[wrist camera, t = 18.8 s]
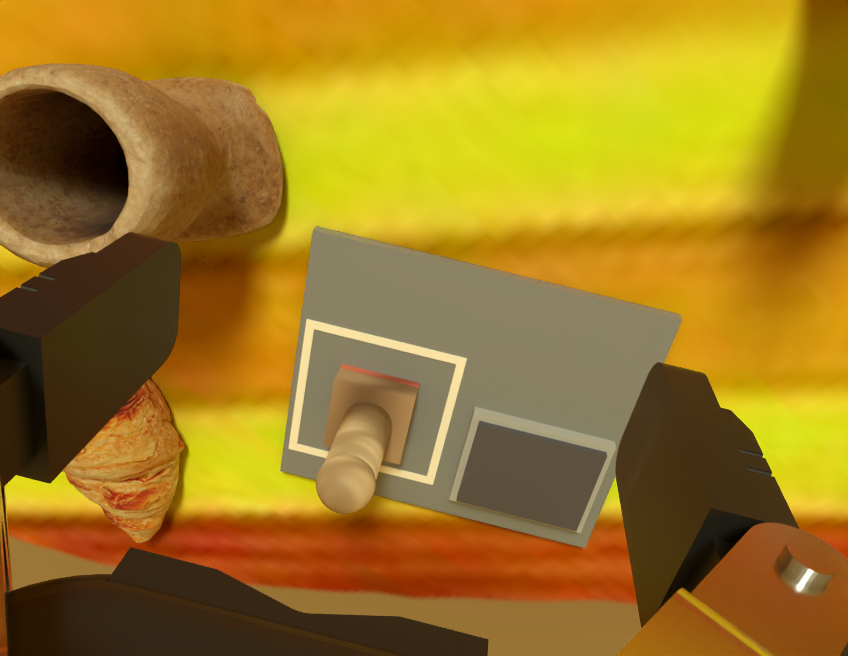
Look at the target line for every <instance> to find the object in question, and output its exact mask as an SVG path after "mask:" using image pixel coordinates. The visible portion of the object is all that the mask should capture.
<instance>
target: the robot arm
mask: <svg viewBox="0 0 848 656" xmlns="http://www.w3.org/2000/svg"><path fill="white" fill-rule="evenodd" d="M180 271H181V253H180V249H179V246H178V245H177V244H176V243H175V242H171V241H167V240H163V239H159V238H155V237H150V236H146V235H142V234H138V233H134V232H128V233H126V234H125V235H123V236H122V237H120V238H118V239H117V240H115V241H114V242H112V243H111V244H109V245H108V246H106V247H104V248H103V249H101V250H100V251H98V252H97V253H95V252H90V253H86V254H82V255H79V256H75V257H71V258H68V259H64V260H61V261H59V262H58V263H56V264H54V265H53V266H51V267H49V268H48V269H46V270H44V271H43V272H41V273H40V274H39V277H36V276H35V277H33V278H31V279H30V280H28V281H26V282H25V283H23V284H21V288H15V289H13V290H12V291H10V292H8V293H7V294H5V295H3V296H2V297H0V656H487V654H488V639H484V638H481V637H477V636H473V635H469V634H465V633H461V632H457V631H454V630H449V629H446V628H442V627H438V626H434V625H430V624H426V623H422V622H419V621H415V620H411V619H406V618H403V617H396V616H366V615H335V614H333V615H332V614H309V613H302V612H299V611H296V610H294V609H292V608H290V607H288V606H286V605H284V604H282V603H280V602H278V601H276V600H274V599H272V598H271V597H269V596H267V595H264V594H263V593H261V592H259V591H257V590H255V589H253V588H252V587H250V586H248V585H246V584H244V583H242V582H240V581H238V580H236V579H234V578H232V577H231V576H229V575H227V574H225V573H223V572H221V571H219V570H217V569H213V568H209V567H205V566H201V565H197V564H194V563H190V562H186V561H182V560H178V559H174V558H170V557H166V556H163V555H159V554H155V553H151V552H147V551H143V550H139V549H135V548H131V547H130V549H129V550H128V552H127V553H126V555H125V556H124V557H123V559H122V560H121V562H120V563H119V565H118V566H117V567H116V569H115V570H114V572H113V573H112V574H96V575H80V576H72V577H65V578H59V579H53V580H48V581H44V582H40V583H36V584H32V585H28V586H25V587H22V588H19V589H16V590H13V589H12V575H11V562H10V549H9V536H8V523H7V509H6V498H5V488H4V486H5V485H6V484H7V483H8V482H9V481H10V480H11V479H12V478H13V477H14V476H15V475H18V476H22V477H26V478H30V479H34V480H38V481H42V482H46V483H51V482H52V481H53V480H54V479H55V478H56V477H57V476H58V475H59V474H60V473H61V472H62V470H63V469H64V468H65V467H66V466H67V465H68V464H69V463H70V462H71V461H72V460H73V459H74V458H75V457H76V456H77V455H78V454H79V452H80V451H81V450H82V449H83V448H84V447H85V446H86V445H87V444H88V443H89V442H90V441H91V440H92V439H93V438H94V437H95V436H96V434H97V433H98V432H99V431H100V430H101V429H102V428H103V427H104V426H105V425H106V424H107V423H108V422H109V421H110V420H111V419H112V417H113V416H114V415H115V414H116V413H117V412H118V411H119V410H120V409H121V408H122V407H123V406H124V405H125V404H126V403H127V402H128V401H129V399H130V398H131V397H132V396H133V395H134V394H135V393H136V392H137V391H138V390H139V389H140V388H141V387H142V386H143V385H144V384H145V383H146V381H147V380H148V379H149V378H150V377H151V376H152V375H153V374H154V373H155V372H156V371H157V370H158V369H159V368H160V367H161V366H162V365H163V363H164V362H165V361H166V360H167V358H168V357H169V355H170V353H171V351H172V349H173V346H174V343H175V340H176V336H177V331H178V317H179V294H180ZM762 456H763V453H762V451H761V449H760V447H759V445H758V442H757V440H756V438H755V436H754V434H753V432H752V431H751V430H750V429H749V428H748V427H747V426H746V425H745V424H744V423H743V422H742V421H741V420H740V419H739V418H738V417H737V416H736V415H735V414H734V413H733V412H732V411H731V410H728V409H724V408H720V406H719V403H718V401H717V399H716V397H715V394H714V392H713V390H712V387H711V385H710V383H709V381H708V378H707V376H706V375H705V374H704V373H701V372H697V371H693V370H689V369H685V368H681V367H677V366H673V365H669V364H664V363H660V362H657V363H656V364H655V365H654V366H653V367H652V368H651V370H650V372H649V374H648V376H647V378H646V380H645V383H644V385H643V388H642V390H641V392H640V395H639V397H638V400H637V402H636V404H635V407H634V409H633V412H632V414H631V416H630V419H629V421H628V424H627V426H626V428H625V431H624V433H623V436H622V438H621V441H620V444H619V448H618V452H617V457H616V467H615V473H616V481H617V486H618V492H619V498H620V504H621V510H622V516H623V522H624V528H625V534H626V539H627V545H628V551H629V557H630V563H631V569H632V575H633V581H634V587H635V593H636V598H637V604H638V610H639V616H640V622H641V629H640V630H639V631H638V632H637V634H636V635H635V636H634V637H633V638H632V639H631V640H630V641H629V642H628V643H627V644H626V645H625V646H624V647H623V648H622V649H621V650H620V651H619V652H618V653H617V654H616V656H848V560H847V559H846V558H845V557H844V556H843V555H842V554H840V553H839V552H838V551H837V550H835V549H834V548H833V547H831V546H830V545H829V544H827V543H826V542H824V541H822V540H821V539H819V538H817V537H815V536H814V535H812V534H810V533H807V532H805V531H803V530H800V529H799V527H798V525H797V523H796V521H795V519H794V517H793V515H792V513H791V511H790V509H789V506H788V504H787V502H786V500H785V498H784V496H783V494H782V492H781V490H780V488H779V486H778V484H777V482H776V480H775V478H774V477H772V476H771V474H772V471H771V469H770V467H769V465H768V463H767V461H766V459H765V458H762Z"/></svg>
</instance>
